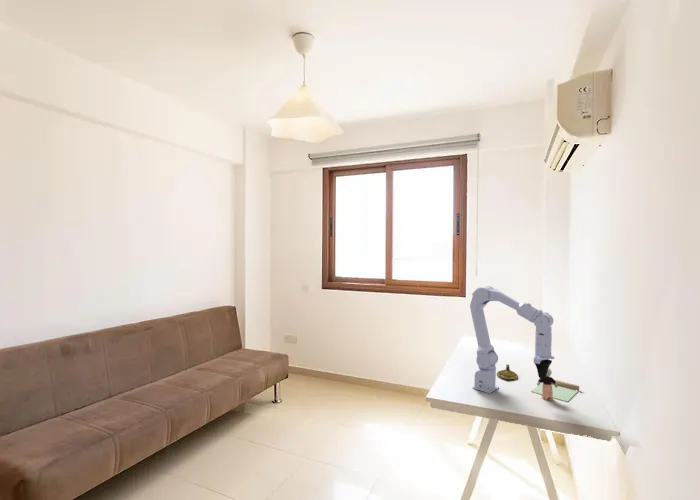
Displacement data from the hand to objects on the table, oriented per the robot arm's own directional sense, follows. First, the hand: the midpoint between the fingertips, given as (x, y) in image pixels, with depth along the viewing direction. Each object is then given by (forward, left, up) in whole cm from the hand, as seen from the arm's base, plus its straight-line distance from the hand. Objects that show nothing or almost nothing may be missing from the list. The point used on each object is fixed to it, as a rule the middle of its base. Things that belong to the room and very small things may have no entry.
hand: (542, 378), depth 146 cm
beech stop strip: (+26, 0, -10) cm, 28 cm away
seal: (+21, +22, -10) cm, 32 cm away
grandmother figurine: (+6, 0, -10) cm, 12 cm away
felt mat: (+17, 0, -10) cm, 20 cm away
